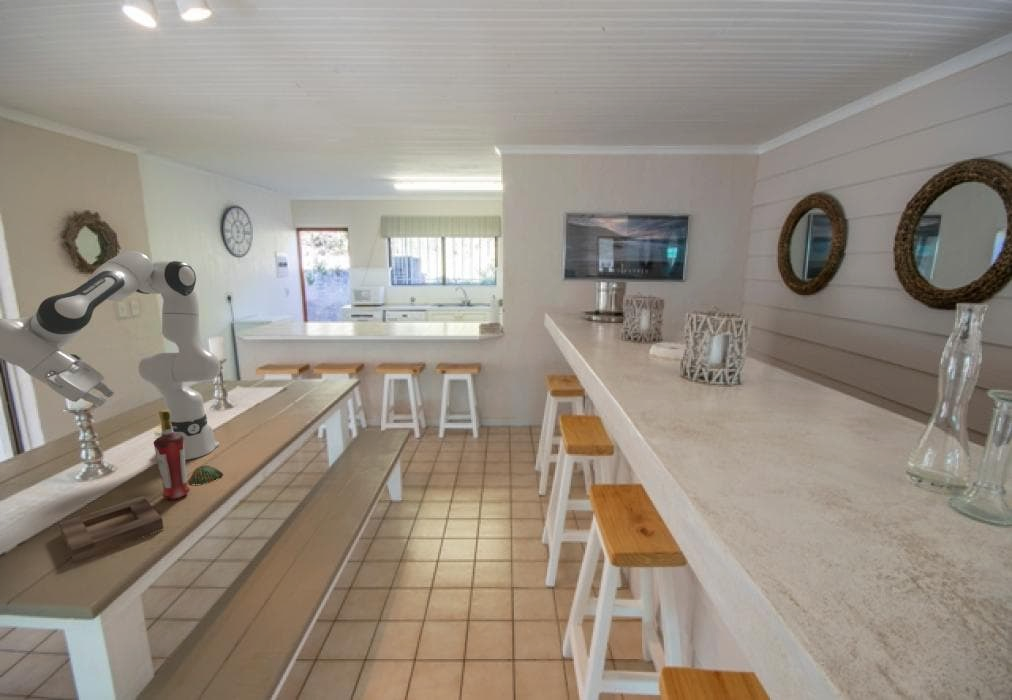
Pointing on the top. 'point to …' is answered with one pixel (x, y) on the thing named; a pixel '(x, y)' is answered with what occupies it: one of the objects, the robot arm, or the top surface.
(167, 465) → the liquor
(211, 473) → the seashell
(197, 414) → the robot arm
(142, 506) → the plinth
